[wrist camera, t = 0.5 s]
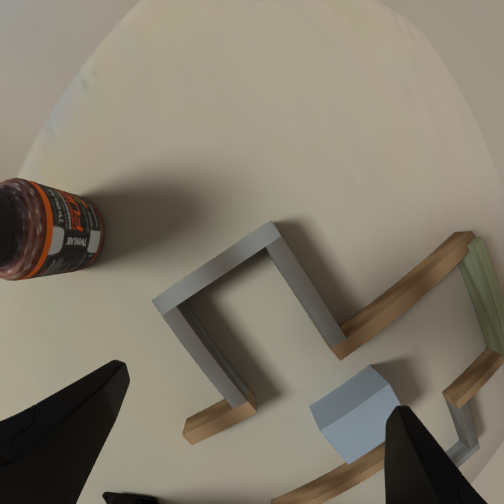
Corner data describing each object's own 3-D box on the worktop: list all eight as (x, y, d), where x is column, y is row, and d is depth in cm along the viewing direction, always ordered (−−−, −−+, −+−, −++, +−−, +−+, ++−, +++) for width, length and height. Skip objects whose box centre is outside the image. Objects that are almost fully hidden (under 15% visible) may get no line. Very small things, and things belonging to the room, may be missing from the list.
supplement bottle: (121, 226, 22) (30, 214, 10) (81, 286, 22) (-16, 313, 10) (73, 181, 21) (-21, 147, 10) (37, 239, 21) (-61, 239, 10)
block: (335, 439, 23) (348, 464, 19) (308, 405, 23) (319, 430, 19) (390, 401, 23) (410, 421, 19) (368, 364, 23) (389, 383, 19)
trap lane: (318, 535, 23) (323, 555, 20) (114, 326, 22) (96, 338, 18) (506, 400, 24) (523, 410, 20) (401, 136, 22) (422, 122, 19)
